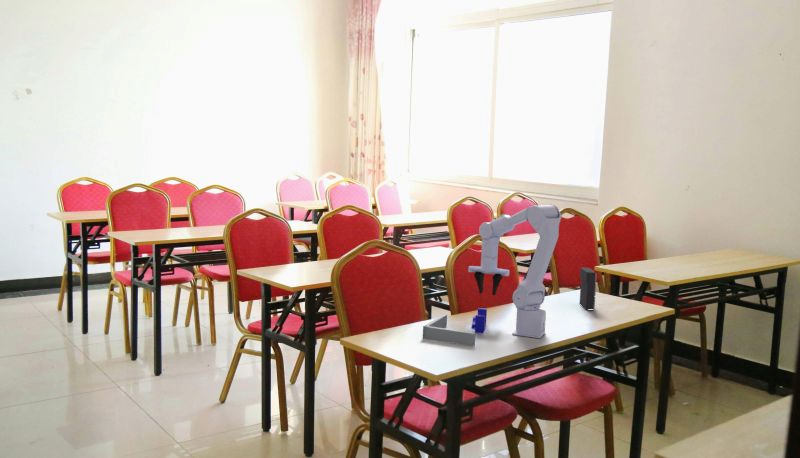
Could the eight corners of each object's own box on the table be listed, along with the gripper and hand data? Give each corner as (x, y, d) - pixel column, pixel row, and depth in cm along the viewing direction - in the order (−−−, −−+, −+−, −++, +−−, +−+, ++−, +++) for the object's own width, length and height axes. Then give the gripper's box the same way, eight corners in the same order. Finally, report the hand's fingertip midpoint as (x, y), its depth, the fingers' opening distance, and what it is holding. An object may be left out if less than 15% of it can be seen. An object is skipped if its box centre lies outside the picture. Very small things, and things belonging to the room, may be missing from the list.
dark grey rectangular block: (595, 310, 283) (598, 272, 281) (584, 310, 283) (586, 272, 281) (588, 304, 294) (591, 267, 292) (577, 304, 294) (580, 267, 292)
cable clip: (473, 324, 257) (473, 307, 256) (486, 325, 256) (486, 308, 255) (470, 333, 245) (470, 315, 244) (483, 334, 244) (484, 316, 244)
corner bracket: (491, 332, 246) (491, 320, 246) (473, 346, 229) (474, 333, 228) (443, 325, 253) (443, 314, 252) (422, 338, 236) (423, 326, 235)
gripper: (512, 256, 259) (510, 294, 261) (473, 252, 265) (471, 289, 267) (507, 259, 253) (505, 297, 254) (467, 255, 258) (465, 293, 260)
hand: (487, 293), depth 260 cm, fingers open, 4 cm apart
